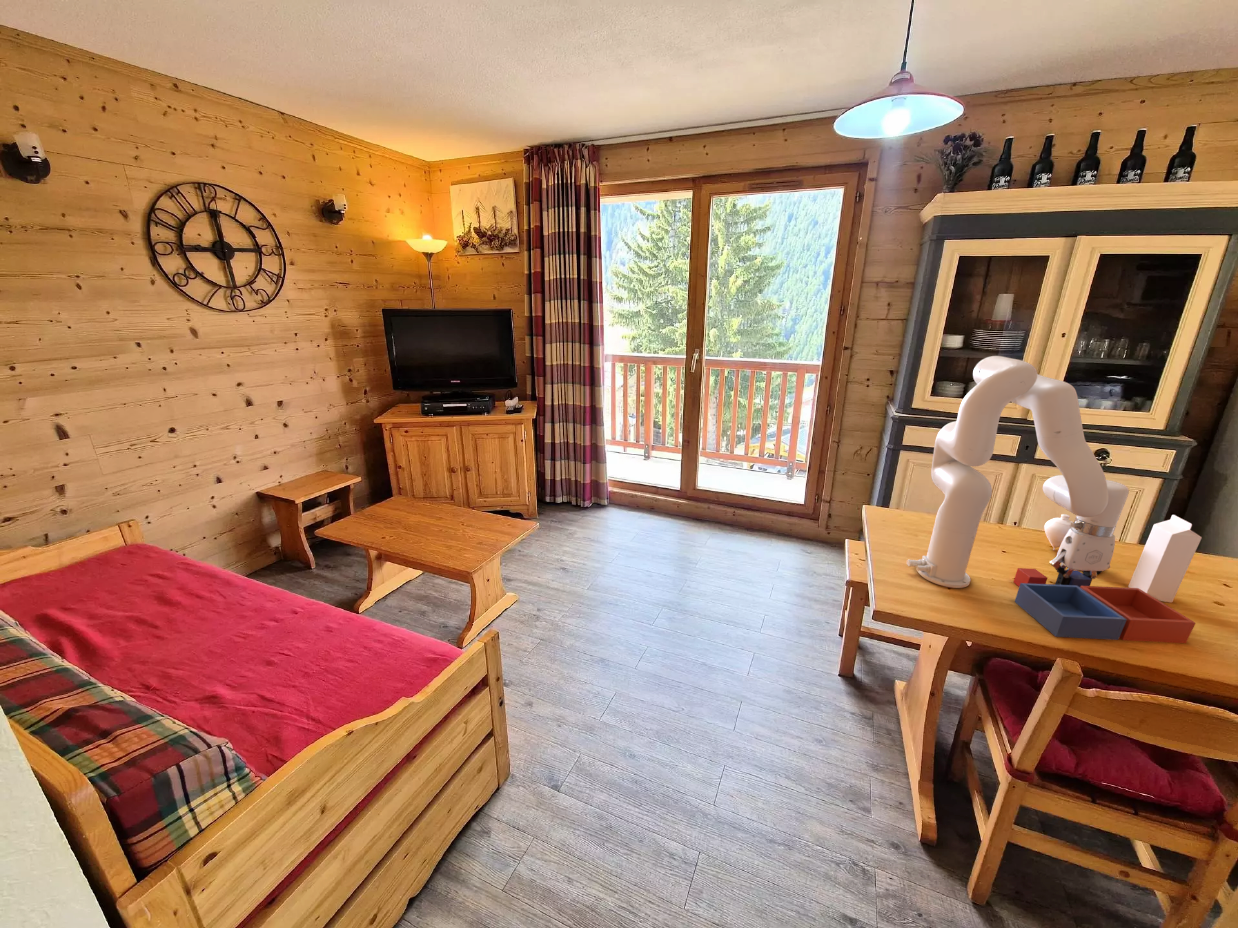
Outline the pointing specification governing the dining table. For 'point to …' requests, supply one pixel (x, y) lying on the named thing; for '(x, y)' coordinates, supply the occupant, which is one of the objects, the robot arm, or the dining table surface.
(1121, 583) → the dining table surface
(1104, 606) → the blue bin
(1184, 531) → the milk
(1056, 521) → the spinning top
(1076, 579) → the blue block
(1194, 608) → the dining table surface
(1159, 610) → the red bin
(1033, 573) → the red block
